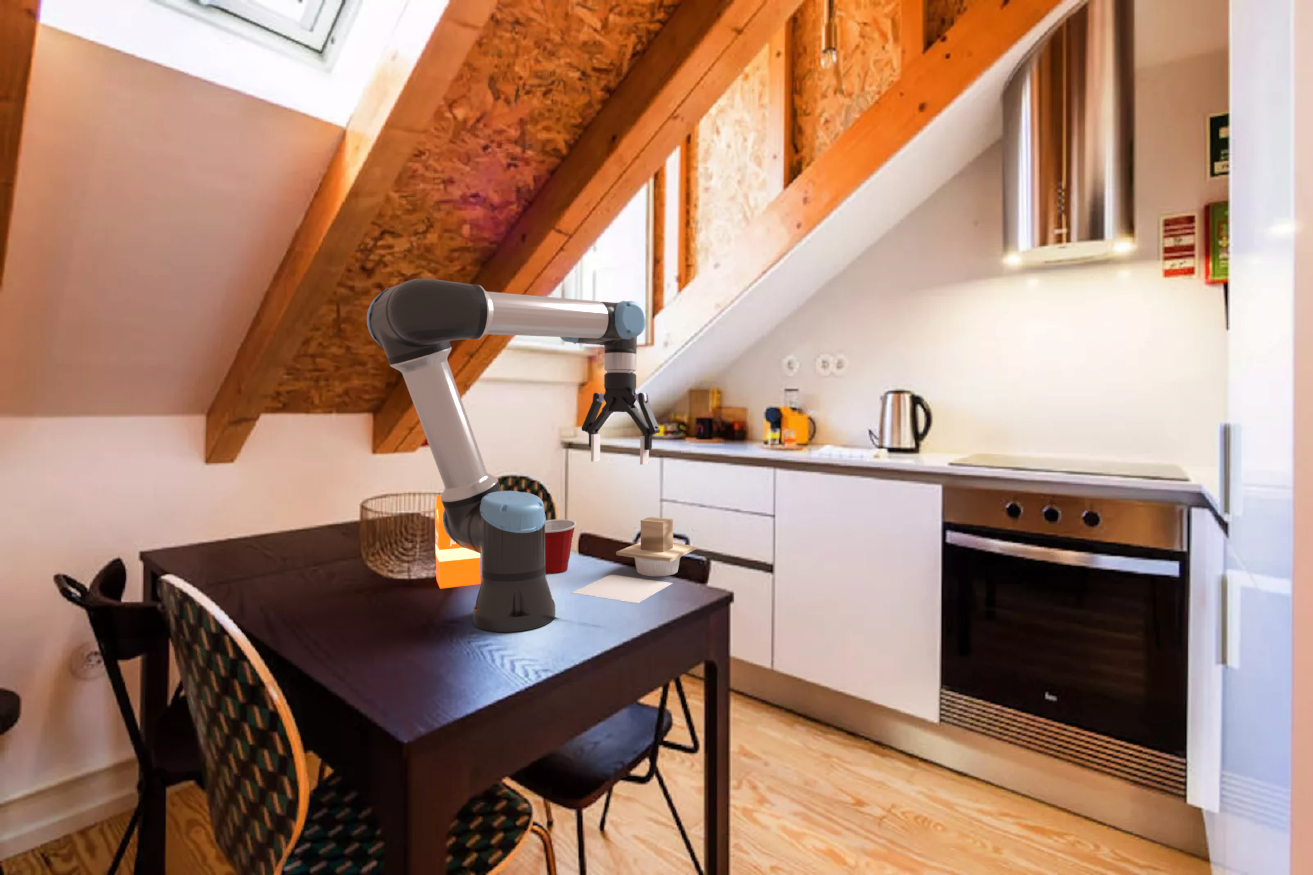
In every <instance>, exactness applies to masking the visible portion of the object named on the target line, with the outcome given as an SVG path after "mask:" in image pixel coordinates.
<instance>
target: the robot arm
mask: <svg viewBox="0 0 1313 875" xmlns="http://www.w3.org/2000/svg"><path fill="white" fill-rule="evenodd" d="M646 317H647V316H646V312H645V310H644V309H643V307H642V306H641V304H639V303H638V302H636V301H633V300H628V301H627V300H622V301H618V302H610V301H608V302H607V301H598V300H587V299H576V298H565V297H564V298H563V297H551V296H544V295H543V296H542V295H528V294H520V293H507V292H506V293H505V292H497V291H487V290H485V289H484V287H483V286H482V285H480V284H472V283H463V282H457V281H450V280H449V281H448V280H442V279H434V278H413V279H409V280H407V281H404V282H402V283H400V284H397V285H395V286H392V287H388V288H385V289H384V290H383V291H381V292H379V294H377V296H376V297H374V299H373V300H372V301H371V303H370V304H369V307H368V309H367V312H366V326H367V330H368V332H369V334H370V336H371V337H372V339H373V340H374V341H375V342H376V344H378V345H379V346H380V347H381V348H382V349H383V350H384V353H385V355H386V358H387V361H388V364H389V366H390V367H391V368H393V369H395V370H397V371H399V372H400V373H401V375H402V377H403V379H404V382H405V385H406V387H407V391H408V392H409V396H410V398H411V401H412V403H413V406H414V409H415V411H416V414H417V416H418V419H419V422H420V425H421V427H422V430H423V433H424V435H425V437H426V441H427V444H428V446H429V448H430V451H431V454H432V456H433V459H434V462H435V465H436V467H437V470H438V473H439V475H440V478H441V480H442V483H443V486H444V489H443V491H442V492H441V495H440V496H441V501H442V504H443V506H444V509H445V510H444V512H443V525H444V528H445V531H446V533H447V534H448V536H449V537H450V538H451V539H452V540H453V541H454V542H456V543H457V544H458V545H460V546H462V547H463V548H467V549H469V550H473V551H475V552H478V553H480V555H481V584H480V586H479V590H478V593H477V598H476V602H475V604H474V606H473V610H472V619H473V620H472V622H473V624H474V626H476V627H477V628H479V629H481V630H484V631H489V632H500V633H501V632H502V633H509V632H513V633H514V632H523V631H529V630H533V629H536V628H539V627H540V628H541V627H544V626H545V625H548V624H550V623H551V622H552V621H554V620H555V618H556V603H555V601H554V598H553V596H552V592H551V588H550V585H549V583H548V579H547V576H546V574H545V522H546V520H547V517H546V513H545V504H544V501H543V500H542V499H541V498H540V497H539V496H538V495H535V494H533V493H530V492H525V491H516V490H502V488H501V484H500V482H499V479H498V477H497V476H495V475H492V474H491V473H488V472H487V469H486V466H485V463H484V461H483V457H482V455H481V452H480V449H479V446H478V443H477V441H476V440H477V439H476V437H475V434H474V432H473V429H472V426H471V424H470V421H469V418H468V415H467V412H466V408H465V406H464V404H463V401H462V398H461V395H460V392H459V389H458V387H457V384H456V380H455V378H454V375H453V372H452V369H451V366H450V364H449V361H448V357H449V355H450V354H451V351H452V348H453V347H452V345H451V342H452V341H459V340H480V339H482V338H483V337H484V335H496V336H497V335H499V336H500V335H501V336H502V335H503V336H504V335H505V336H523V337H524V336H525V337H526V336H527V337H553V338H554V337H557V338H560V339H561V340H562V341H564V342H567V343H573V344H574V345H576V344H582V345H583V344H585V345H597V346H604V364H603V365H604V366H603V368H604V371H605V373H604V376H603V386H604V393H601V392H594V393H593V395H592V402H591V405H590V407H589V410H588V412H587V414H586V416H585V419H584V421H583V423H582V426H581V430H582V431H583V432H586V433H587V434H588V447H589V448H590V461H591V462H592V463H593V462H600V461H601V433H599V431H600V430H601V428H602V427H603V425H604V424H605V423H606V422H607V420H608V418H609V417H610V416H611V414H613V413H626V414H628V415H629V416H630V417H631V419H632V421H633V422H634V423H635V425H636V426H637V427H638V429H639V430H640V432H641V433H642V435H641V436H639V437H640V439H639V440H640V442H639V443H640V444H639V465H642V466H643V465H649V464H650V461H649V458H650V453H649V452H650V451H651V450H652V449H653V436H654V435H656V434H659V433H660V431H661V430H660V429H661V428H660V426H659V424H658V422H657V419H656V417H655V414H654V412H653V410H652V407H651V404H650V403H649V394H648V393H647V392H639V393H637V392H636V389H637V374H636V373H635V372H636V371H637V348H638V347H637V345H638V337H639V336H640V335H641V334H642V333H643V332H644V330H645V328H646V325H647V321H646V320H647V318H646ZM604 402H605V405H603V403H604ZM636 402H637V403H638V405H639V408H640V410H641V413H642V414H641V413H640V412H639V409H638V408H637V406H636V405H635V403H636ZM602 405H603V407H602ZM601 408H602V409H601ZM600 410H601V411H600ZM599 412H600V413H599ZM642 415H643V416H642Z"/></svg>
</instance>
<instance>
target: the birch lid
mask: <svg viewBox="0 0 1313 875" xmlns="http://www.w3.org/2000/svg"><path fill="white" fill-rule="evenodd" d="M695 550H697V546H696V545H691V544H683V543H674V519H673V518H666V517H658V516H657V517H656V516H655V517H654V516H650V517H646V518H644V519H640V542H638V543H635V544H632V545H630V546H628V547H625V548H623V549H620V550H618V551H616V552H615V554H616V556H620V557H621V556H622V557H626V558H627V557H628V558H634V559H635V558H642V559H650V560H658V561H666V562H671V561H673V560H675V559H677V558H679V557H683V556H686V555H687V554H689V553H691V552H693V551H695Z"/></svg>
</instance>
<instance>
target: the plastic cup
mask: <svg viewBox="0 0 1313 875" xmlns="http://www.w3.org/2000/svg"><path fill="white" fill-rule="evenodd" d="M576 525H577V521H574V520H572V519H564V518H563V519H562V518H561V519H559V518H557V519H556V518H555V519H546V522H545V575H546V574H547V575H548V574H550V575H551V574H552V575H554V574H563V573H565V572H567V571H568V568H569V560H570V556H571V550H572V549H571V548H572V543H573V542H572V541H573V537H574V532H575V528H576V527H577V526H576Z"/></svg>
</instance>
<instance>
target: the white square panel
mask: <svg viewBox="0 0 1313 875" xmlns="http://www.w3.org/2000/svg"><path fill="white" fill-rule="evenodd" d="M671 585H673V582H670V581H669V582H667V581H660V580H653V579H645V578H638V577H634V576H633V577H631V576H625V575H619V574H618V575H617V574H609V575H606V576H605V577H602V578H600V579H598V580H596V581H594V582H591V583H589V584H587V585H585V586H583V587H580V588H578V589H576V590H574V591H571V594H577V595H583V596H590V597H597V598H600V599H601V598H603V599H608V600H615V601H620V602H628V603H633V604H639V603H641V602H643V601H644V600H646V599H648V598H650V597H652V596H653V595H655V594H657V593H659V592H660V591H662V590H664V589H666V588H667V587H669V586H671Z"/></svg>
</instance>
